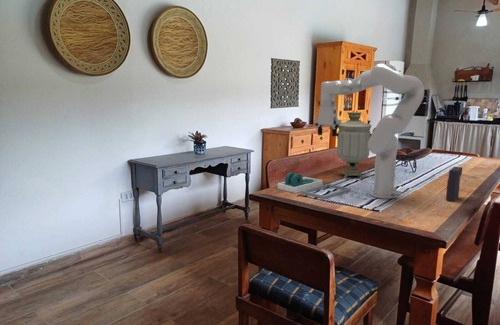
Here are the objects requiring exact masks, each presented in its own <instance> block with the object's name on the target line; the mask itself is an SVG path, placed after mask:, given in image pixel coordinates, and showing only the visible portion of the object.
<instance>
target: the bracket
mask: <svg viewBox="0 0 500 325" xmlns="http://www.w3.org/2000/svg"><path fill="white" fill-rule="evenodd" d="M303 177H304V176H302V174H300V173H294V172H288V173H287V174H286V175H285V178H284V180H285V181H284V182H285V185H288V186H293V187H297V186H301V185H305V184H308V183H312V182H314V180H312V179H303Z"/></svg>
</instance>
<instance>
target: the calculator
mask: <svg viewBox="0 0 500 325" xmlns="http://www.w3.org/2000/svg"><path fill="white" fill-rule="evenodd" d="M462 175H463V167H461V166H453V167H452V168H450V169H449V170H448V176H447V178H448V179H447V182H446V183H447V184H446V194H445V195H446V196H445V200H446V201H447V202H455V201H457V199H458V198H459V196H460V195H459V193H460V183H461V181H460V180H461V176H462Z"/></svg>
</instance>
